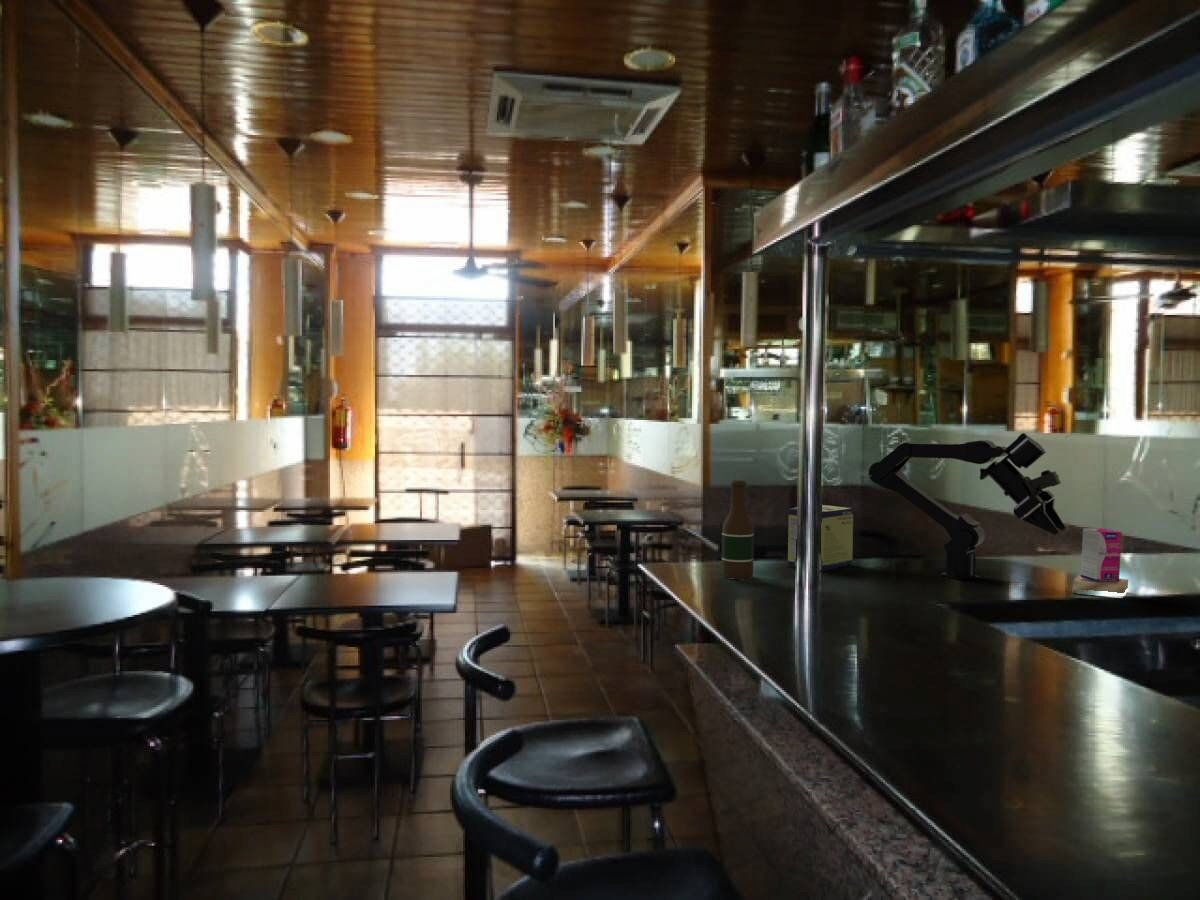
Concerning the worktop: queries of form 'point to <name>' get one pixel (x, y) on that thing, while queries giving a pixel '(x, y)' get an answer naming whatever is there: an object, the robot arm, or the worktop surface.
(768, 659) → the worktop surface
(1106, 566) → the supplement box
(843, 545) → the protein box
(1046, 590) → the worktop surface
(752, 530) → the beer bottle
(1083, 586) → the beech base block
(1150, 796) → the worktop surface
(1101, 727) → the worktop surface
